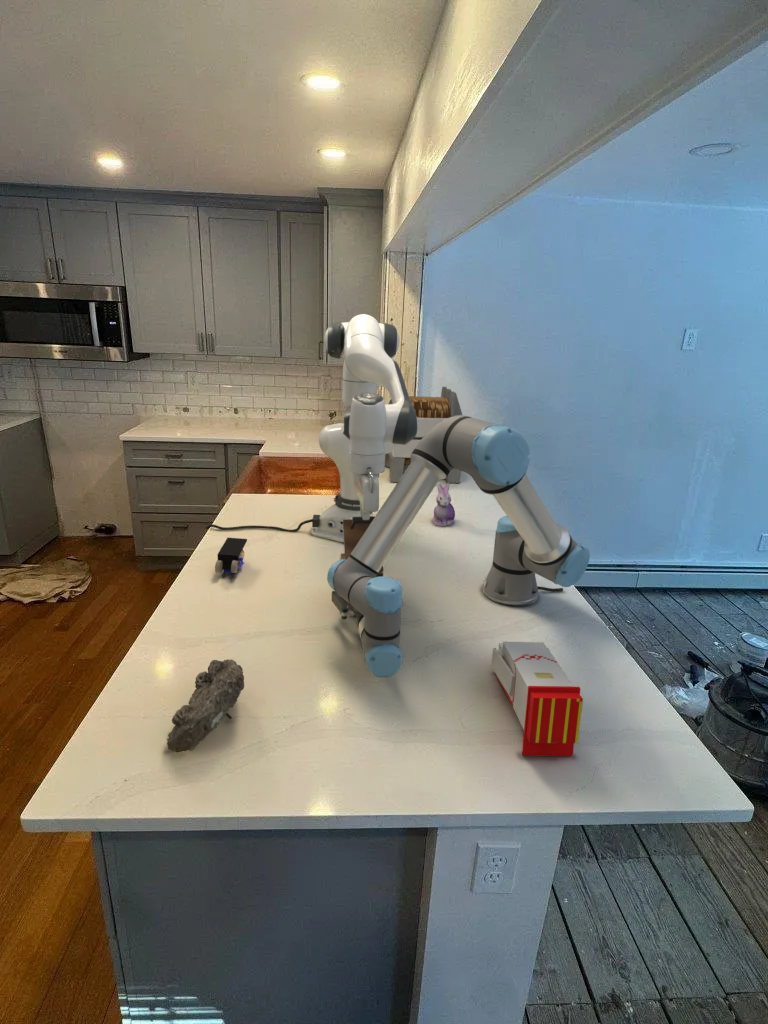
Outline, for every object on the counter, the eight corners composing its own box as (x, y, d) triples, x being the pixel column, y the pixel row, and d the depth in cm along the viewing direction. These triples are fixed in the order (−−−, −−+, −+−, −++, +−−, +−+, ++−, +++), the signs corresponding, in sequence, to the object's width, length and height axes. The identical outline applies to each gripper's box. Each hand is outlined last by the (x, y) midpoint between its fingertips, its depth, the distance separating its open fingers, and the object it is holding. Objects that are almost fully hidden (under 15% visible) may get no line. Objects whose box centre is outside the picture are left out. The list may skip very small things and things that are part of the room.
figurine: (440, 528, 206) (443, 489, 201) (425, 519, 214) (428, 481, 209) (461, 525, 210) (465, 486, 205) (446, 516, 219) (449, 478, 214)
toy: (540, 624, 127) (592, 694, 97) (535, 679, 129) (584, 763, 100) (486, 623, 126) (522, 693, 97) (482, 678, 129) (516, 762, 100)
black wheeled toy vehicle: (238, 584, 162) (249, 557, 175) (236, 562, 158) (247, 536, 172) (215, 584, 161) (227, 556, 175) (212, 561, 158) (225, 535, 171)
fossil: (192, 660, 117) (244, 628, 112) (224, 691, 120) (276, 661, 115) (142, 746, 98) (202, 712, 93) (182, 779, 101) (242, 748, 96)
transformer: (382, 463, 289) (386, 382, 275) (445, 464, 293) (451, 384, 279) (390, 482, 257) (394, 392, 243) (460, 483, 261) (468, 394, 247)
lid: (342, 520, 147) (345, 511, 140) (379, 519, 149) (384, 510, 141) (345, 573, 143) (348, 566, 136) (382, 571, 145) (388, 564, 137)
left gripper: (386, 474, 127) (384, 532, 131) (373, 453, 146) (371, 504, 150) (358, 474, 126) (357, 532, 130) (349, 453, 145) (347, 504, 149)
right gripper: (325, 642, 128) (319, 595, 149) (421, 637, 132) (402, 591, 152) (325, 613, 125) (319, 569, 146) (423, 608, 129) (404, 566, 150)
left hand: (364, 517), depth 140 cm, fingers closed, pressing on lid
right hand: (361, 580), depth 149 cm, fingers closed on chest, 10 cm apart
